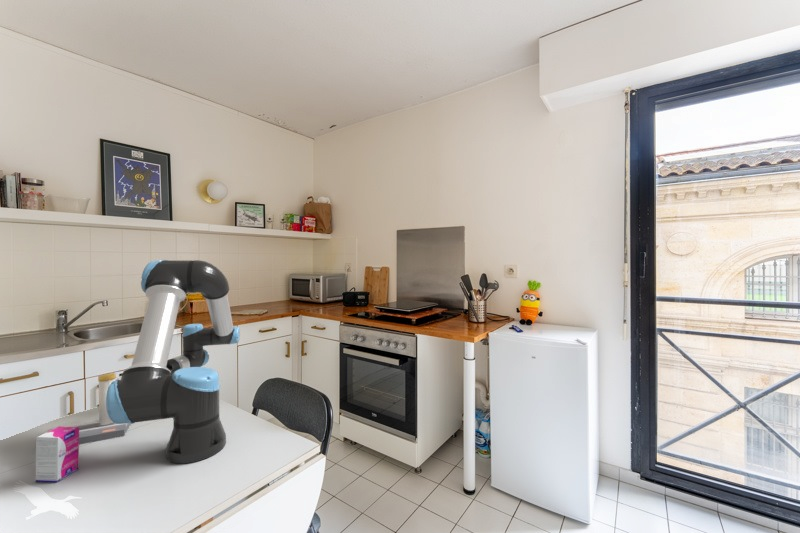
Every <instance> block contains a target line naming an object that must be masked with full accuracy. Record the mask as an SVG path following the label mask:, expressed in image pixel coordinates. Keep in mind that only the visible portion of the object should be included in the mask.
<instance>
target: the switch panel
mask: <svg viewBox="0 0 800 533" xmlns="http://www.w3.org/2000/svg"><path fill="white" fill-rule="evenodd" d="M98 425H99V420H98V421H93V422H88V423H87V422H86V423H80V424H76V425H69V426H67V427H79V445H82V444H88V443H93V442H98V441H99V442H100V441H105V440H109V439H115V437H116V438H120V436H121V437H125V436H126V434H127V432H128V431H129V429H130V427H129V426H131V423H125V424H113V425H108V426H102V427H98ZM53 429H54V428H52V429H51V428H50V429H49V430H47V431H46V432H45V433H47V432H49V431H51V430H53ZM125 433H126V434H125Z"/></svg>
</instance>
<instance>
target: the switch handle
mask: <svg viewBox="0 0 800 533" xmlns="http://www.w3.org/2000/svg"><path fill="white" fill-rule="evenodd" d="M97 378H98V380H97V381H98V421H99V425H98V427H102V426H108V425H113V424H116V423H114V422H112V421H111V420H110V418H109V416H108V413H107V409H106V395H107V390H108V387H109V386H110V385H111V383H112V382H113V381H115V378H116V373H114V372H110V373H103V374H101V375H99V376H97Z"/></svg>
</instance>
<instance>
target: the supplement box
mask: <svg viewBox="0 0 800 533" xmlns="http://www.w3.org/2000/svg"><path fill="white" fill-rule="evenodd" d="M52 429H53V430H51V431H49V432H47V431H46V432H47V433H46V432H45V433H42V434H41V435H38V436H36V439H35V444H36V445H35V447H36V448H35V480H34V482H35V483H49V484H51V483H53V484H55V483H58V482H60V481H62V479H65V478H66V477H68V476H69V475H71V474H72V473H74V472H76V471H78V470H79V468H80V466H79V459H80V458H79V456H80V454H79V453H80V444H79V427H68V426H57V427H55V428H52Z"/></svg>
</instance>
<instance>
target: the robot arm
mask: <svg viewBox="0 0 800 533" xmlns="http://www.w3.org/2000/svg"><path fill="white" fill-rule="evenodd" d="M140 278H141V281H140V286H141V287H140V288H141V289H142V291H143V293H145V296H146V298H148V303H147V307H146V310H145V314H144V318H143V320H142V324H141V328H140V332H139V336H138V340H137V343H136V346H135V347H136V348H135V351H134V355H133V358H132V362H131V365H130V366H129V367H128V368H125V369H124V370H123V371H122V373H119V374H118V376H117V377H116V378H115V381H113V382H112V383H111V385H110V386H109V387H108V390H107V395H106V409H107V413H108V416H109V418H110V420H111V421H112V422H114V423H116V424H125V423H131V424H132V425H133V424H136V423H142V422H150V421H158V420H166V419H173V429H172V431H171V433H170V436H169V439H168V442H167V446H166V448H165V449H166V452H165V453H166V455H165V456H166V459H167V461H169V462H171V463H174V464H191V463H195V462H200V461H203V460H205V459H207V458H210V457H212V456H214V455H216V454H218V453H219V452H221V451H222V450H223V449H224V448H225V446H226V444H227V435H226V434H227V433H226V432H225V428H224V427H223V424H222V422H221V418H220V388H221V385H220V376H219V373H218V372H217V371H216V370H215V369H213V368H211V367H204V366H205V365H206V364H207V363H208V362H209V359H210V355H209V353H208V351H207V350H206V349H204V347H205V346H221V345H223V346H224V345H233V344H235V345H236V344H238V343H239V342H240V339H241V333H240V332H241V329H240V327H239V326H234V324H233V317H232V311H231V307H230V306H231V305H230V302H229V301H230V300H229V296H228V295H229V292H230V286H229V281H228V280H227V277H226V276H225V274H224V273H223V272H222V271H221V269H219V268H218V267H217V266H215V265H213V264H212V263H210V262H207V261H204V260H199V259H197V260H195V259H194V260H192V259H191V260H168V259H161V260H153V261H152V260H151V261H150V262H148V263H147V264H146V266H145V267H144V269H143V271H142V273H141V277H140ZM191 293H200V295H201V296H202V297H203V299H205V301H206V305H207V308H208V312H209V316H210V320H211V324H212V327H205V328H204V326H203V324H202V323H189V324H186V325H184V326H183V327H182V335H181V336H182V354H181V355H179V356H175V357H172V358H170V359H169V355H170V351H171V345H172V341H173V337H174V331H175V326H176V321H177V317H178V313H179V308H180V303H181V302H183V301H185V300H186V297H187V294H191Z"/></svg>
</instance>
